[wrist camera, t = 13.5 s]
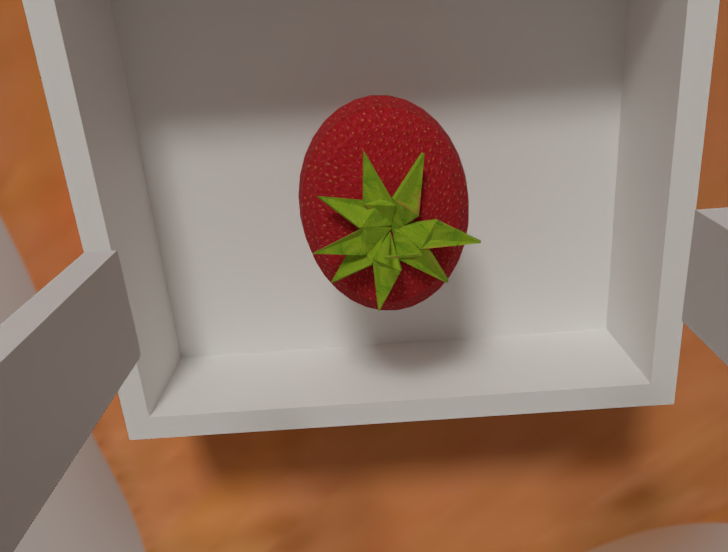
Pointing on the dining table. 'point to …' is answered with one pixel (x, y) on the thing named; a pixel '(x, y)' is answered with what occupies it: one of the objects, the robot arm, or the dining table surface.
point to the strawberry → (384, 202)
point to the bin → (484, 184)
